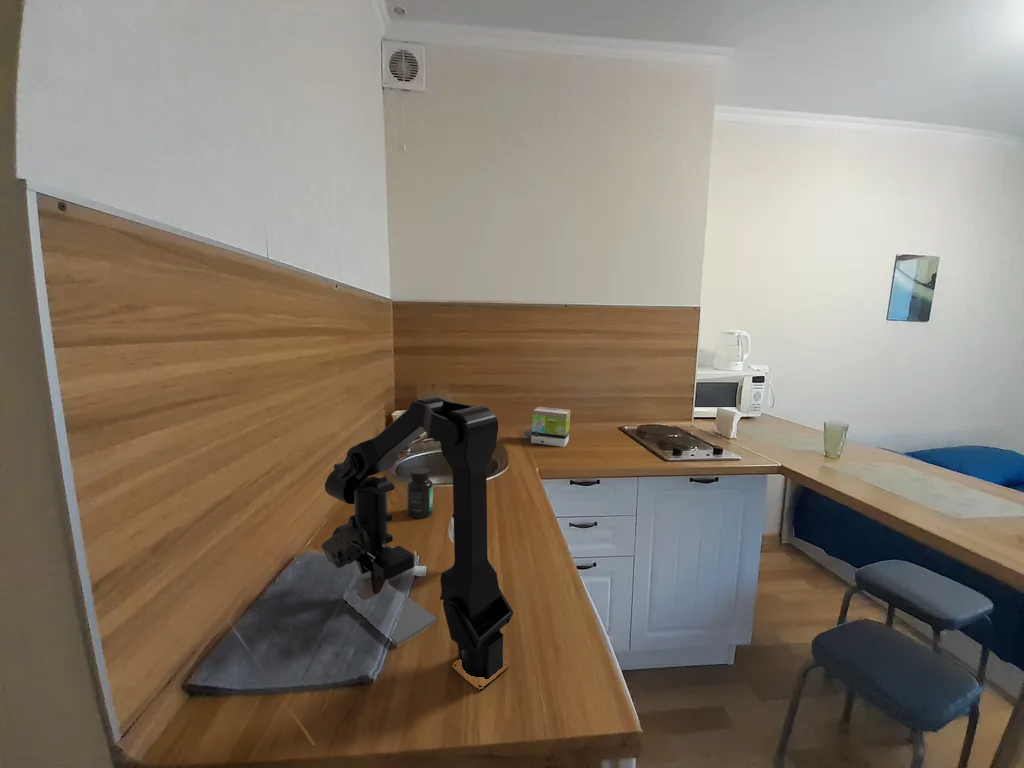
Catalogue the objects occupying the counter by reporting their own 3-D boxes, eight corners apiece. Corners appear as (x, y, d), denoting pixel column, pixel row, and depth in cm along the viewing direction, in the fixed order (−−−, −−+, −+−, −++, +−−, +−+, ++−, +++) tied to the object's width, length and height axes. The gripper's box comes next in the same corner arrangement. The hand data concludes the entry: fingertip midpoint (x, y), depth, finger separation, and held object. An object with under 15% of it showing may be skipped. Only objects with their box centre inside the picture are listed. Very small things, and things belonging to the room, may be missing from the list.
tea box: (530, 443, 190) (531, 410, 188) (536, 438, 199) (537, 406, 197) (565, 447, 186) (566, 413, 184) (569, 441, 195) (570, 408, 193)
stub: (403, 598, 83) (403, 573, 82) (364, 619, 77) (364, 592, 76) (380, 581, 88) (379, 557, 87) (341, 599, 82) (341, 574, 81)
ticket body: (437, 624, 76) (437, 617, 76) (397, 649, 70) (397, 641, 70) (405, 600, 82) (405, 594, 82) (366, 621, 76) (366, 614, 76)
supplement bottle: (437, 514, 119) (437, 471, 117) (415, 521, 114) (415, 477, 113) (424, 506, 124) (424, 465, 122) (402, 512, 119) (401, 470, 118)
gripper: (303, 508, 80) (307, 587, 82) (356, 544, 68) (358, 636, 70) (360, 491, 88) (361, 564, 90) (416, 521, 76) (416, 604, 78)
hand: (372, 589), depth 82 cm, fingers closed on stub, 2 cm apart
